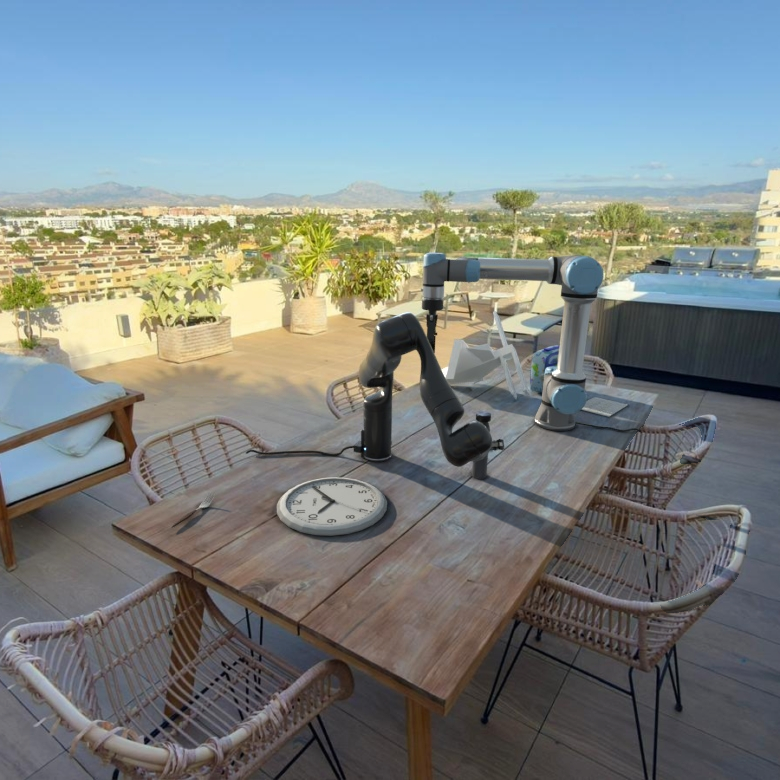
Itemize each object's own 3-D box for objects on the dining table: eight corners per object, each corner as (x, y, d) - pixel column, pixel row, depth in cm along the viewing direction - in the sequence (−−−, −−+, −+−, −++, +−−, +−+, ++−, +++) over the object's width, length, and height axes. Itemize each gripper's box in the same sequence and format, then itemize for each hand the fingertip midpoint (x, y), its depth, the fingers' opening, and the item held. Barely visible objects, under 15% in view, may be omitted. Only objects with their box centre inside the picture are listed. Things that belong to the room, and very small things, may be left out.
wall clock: (392, 527, 129) (268, 531, 127) (391, 533, 130) (269, 537, 127) (383, 473, 158) (282, 475, 155) (383, 478, 158) (282, 480, 156)
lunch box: (546, 398, 236) (551, 353, 229) (525, 393, 243) (529, 349, 237) (573, 387, 253) (579, 344, 247) (553, 382, 260) (558, 341, 254)
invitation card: (608, 416, 214) (573, 407, 224) (608, 416, 214) (573, 408, 224) (628, 404, 229) (594, 396, 238) (628, 405, 229) (594, 397, 238)
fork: (167, 528, 130) (166, 521, 130) (209, 498, 145) (208, 492, 144) (175, 530, 130) (174, 523, 129) (216, 500, 144) (216, 494, 143)
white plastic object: (461, 429, 252) (437, 405, 227) (444, 352, 274) (420, 323, 250) (535, 404, 240) (518, 377, 215) (510, 326, 262) (492, 293, 237)
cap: (487, 417, 158) (488, 410, 158) (492, 422, 154) (493, 415, 154) (473, 417, 158) (474, 411, 157) (478, 422, 153) (479, 416, 153)
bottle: (483, 472, 164) (488, 411, 158) (488, 478, 160) (493, 417, 154) (469, 473, 163) (474, 412, 157) (474, 479, 159) (478, 417, 153)
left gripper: (501, 427, 125) (502, 431, 140) (442, 433, 128) (450, 436, 143) (504, 458, 124) (506, 459, 139) (445, 464, 127) (452, 463, 142)
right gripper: (424, 293, 195) (422, 349, 202) (419, 302, 172) (417, 365, 178) (444, 294, 195) (441, 350, 201) (442, 303, 171) (439, 366, 177)
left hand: (477, 447), depth 141 cm, fingers open, 8 cm apart
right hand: (430, 357), depth 190 cm, fingers open, 13 cm apart
